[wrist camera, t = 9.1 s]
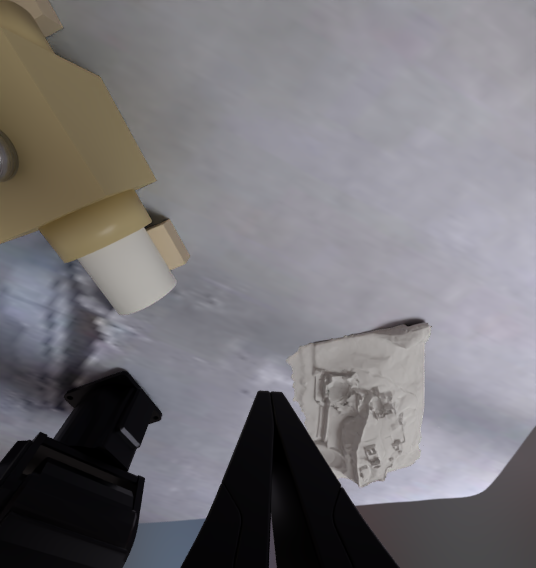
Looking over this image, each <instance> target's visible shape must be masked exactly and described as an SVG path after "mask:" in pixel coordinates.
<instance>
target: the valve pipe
mask: <svg viewBox="0 0 536 568" xmlns="http://www.w3.org/2000/svg"><path fill="white" fill-rule="evenodd" d="M62 28H63V26H62V24H61V22H60V21H59V19H58V17H57V15H56V13H55V11H54V10H53V8H52V6H51V4H50V2H49V1H48V0H0V130H1V131H3V132H4V133H5V134H6V135H7V136H8V138H9V139H10V140H11V142H12V143H13V145H14V147H15V149H16V151H17V154H18V158H19V168H18V171H17V173H16V175H15V176H14V177H13V178H12V179H10V180H8V181H6V182H0V244H2V243H5V242H7V241H10V240H13V239H16V238H18V237H21V236H24V235H27V234H29V233H32V232H35V231H38V230H39V231H40V232H41V233H42V235H43V236H44V237H45V238H46V240H47V241H48V242H49V244H50V245H51V246H52V247H53V249H54V250H55V251H56V252H57V254H58V255H59V256H60V258H61V259H62V260H63V261H64V263H67V262H70V261H73V260H76V259H78V261H79V262H80V263H81V265H82V266H83V267H84V269H85V270H86V271H87V273H88V274H89V275H90V277H91V278H92V279H93V281H94V282H95V283H96V285H97V286H98V287H99V289H100V290H101V291H102V293H103V294H104V295H105V297H106V298H107V299H108V301H109V302H110V303H111V305H112V306H113V307H114V309H115V310H116V311H117V313H118V314H119V315H128V314H132V313H135V312H137V311H140V310H142V309H144V308H146V307H148V306H150V305H152V304H153V303H155V302H157V301H158V300H160V299H161V298H162V297H164V296H165V295H166V294H168V293H169V292H170V291H171V290H172V289H173V288H174V287H175V285H176V283H177V281H176V279H175V278H174V276H173V274H172V273H171V271H170V270H172V269H174V268H177V267H179V266H182V265H184V264H186V262H187V261H188V259H189V257H190V255H189V253H188V251H187V250H186V248H185V246H184V244H183V242H182V241H181V239H180V237H179V235H178V233H177V232H176V230H175V228H174V226H173V224H172V223H171V221H170V219H168V220H166V221H163V222H161V223H159V224H156V225H154V226H152V227H149V228H147V229H145V228H144V227H145V226H147V225H148V224H150V223H151V222H152V220H151V218H150V216H149V214H148V213H147V211H146V209H145V208H144V206H143V204H142V202H141V201H140V199H139V197H138V196H137V194H136V192H135V190H137V189H140V188H142V187H144V186H146V185H149V184H151V183H153V182H155V181H156V179H155V177H154V175H153V173H152V171H151V169H150V168H149V166H148V164H147V162H146V160H145V158H144V157H143V155H142V153H141V151H140V149H139V147H138V145H137V144H136V142H135V140H134V138H133V136H132V134H131V133H130V131H129V129H128V127H127V125H126V123H125V121H124V120H123V118H122V116H121V114H120V112H119V110H118V109H117V107H116V105H115V103H114V101H113V99H112V97H111V96H110V94H109V92H108V90H107V88H106V86H105V85H104V83H103V81H102V79H101V77H99V76H97V75H95V74H93V73H91V72H89V71H87V70H85V69H83V68H81V67H79V66H77V65H75V64H73V63H71V62H69V61H67V60H65V59H63V58H61V57H60V56H58V55H56V54H54V52H53V50H52V48H51V47H50V45H49V43H48V42H47V40H46V37H48V36H50V35H51V34H53V33H55V32H57V31H59V30H61V29H62Z"/></svg>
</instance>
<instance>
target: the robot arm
mask: <svg viewBox="0 0 536 568" xmlns="http://www.w3.org/2000/svg"><path fill="white" fill-rule="evenodd" d="M64 398H65V400H66V401H67V402H68V403H69V404H70V405H71V406H72V407H73V408H74V410H73V411H72V413H71V414H70V415H69V417H68V418H67V420H66V421H65V423H64V424H63V425H62V427H61V428H60V430H59V431H58V433H57V434H56V436H55V437H54V438H53V439H52V438H49V437H47V434H44V433H42V432H40V433H39V434H38V435H37V436H36V437H35V438H34V439H33V440H32V441H31V440H27V441H17V442H16V444H15V445H14V446H13V447H12V448H11V449H10V451H9V452H8V453H7V454H6V456H5V457H4V458H3V459H2V461H1V462H0V568H123V566H124V564H125V562H126V560H127V557H128V556H129V553H130V551H131V548H132V546H133V543H134V540H135V537H136V533H137V528H138V521H139V515H140V508H141V502H142V495H143V488H144V482H145V478H144V477H142V476H136V475H134V474H131V473H129V472H127V471H128V469H129V467H130V464H131V462H132V459H133V457H134V454H135V451H136V449H137V448H139V447H140V445H141V443H142V440H143V437H144V435H145V432H146V429H147V427H148V424H151V423H154V422H157V421H159V420H161V417H162V413H161V412H160V410H159V409H158V408H157V407H156V406H155V404H154V403H153V402H152V401H151V400H150V398H149V397H148V396H147V395H146V393H145V392H144V391H143V390H142V389H141V387H140V386H139V385H138V384H137V383H136V381H135V380H134V379H133V378H132V377H131V375H130V374H129V373H128V372H125V371H122V372H119V373H116V374H113V375H111V376H108V377H105V378H103V379H100V380H97V381H94V382H92V383H89V384H86V385H83V386H81V387H78V388H75V389H72V390H70V391H68V392H67V393H66V394H65V396H64ZM271 517H272V525H273V536H274V545H275V555H276V565H277V568H400V567H399V566H398V564H397V563H396V562H395V560H394V559H393V558H392V557H391V555H390V554H389V553H388V551H387V550H386V549H385V547H384V546H383V545H382V543H381V542H380V541H379V539H378V538H377V537H376V535H375V534H374V533H373V531H372V530H371V529H370V527H369V526H368V524H367V523H366V522H365V520H364V519H363V517H362V516H361V514H360V513H359V511H358V510H357V508H356V507H355V505H354V504H353V502H352V501H351V499H350V498H349V496H348V495H347V493H346V491H345V490H344V488H343V487H341V484H340V482H339V481H338V479H337V477H336V476H335V474H334V473H333V471H332V470H331V468H330V466H329V465H328V463H327V462H326V460H325V459H324V457H323V455H322V454H321V452H320V451H319V449H318V448H317V446H316V444H315V443H314V441H313V440H312V438H311V437H310V435H309V433H308V432H307V430H306V429H305V427H304V425H303V424H302V422H301V421H300V419H299V418H298V416H297V414H296V413H295V411H294V410H293V408H292V407H291V405H290V403H289V402H288V400H287V399H286V397H285V396H284V394H283V393H282V392H274V391H272V392H269V391H258V392H257V395H256V397H255V400H254V402H253V405H252V407H251V410H250V412H249V415H248V417H247V420H246V422H245V425H244V427H243V430H242V432H241V435H240V437H239V440H238V442H237V445H236V447H235V450H234V452H233V455H232V457H231V460H230V462H229V465H228V467H227V470H226V472H225V475H224V477H223V480H222V484H221V485H220V487H219V490H218V492H217V495H216V497H215V499H214V502H213V504H212V506H211V509H210V511H209V513H208V516H207V518H206V520H205V522H204V524H203V526H202V528H201V530H200V532H199V534H198V536H197V538H196V540H195V542H194V543H193V546H192V547H191V549H190V551H189V553H188V555H187V556H186V558H185V560H184V562H183V564H182V566H181V568H269V547H270V521H271Z"/></svg>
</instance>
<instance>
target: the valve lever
mask: <svg viewBox="0 0 536 568" xmlns="http://www.w3.org/2000/svg"><path fill="white" fill-rule="evenodd" d="M18 168H19V158H18V154H17V151H16V149H15V147H14V145H13V143H12V142H11V140H10V139H9V138H8V136H7V135H6V134H5V133H4V132H3V131H1V130H0V182H6V181H8V180H10V179H12V178H13V177H14V176H15V175H16V173H17V171H18Z"/></svg>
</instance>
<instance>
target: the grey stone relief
mask: <svg viewBox="0 0 536 568" xmlns="http://www.w3.org/2000/svg"><path fill="white" fill-rule="evenodd" d="M431 327H432V326H431ZM431 327H430V326H429V325H428V323H425V322H424V323H419V324H415V325H412V326H409V327H408V326H406V325H405V324H403V325H398V326H395V327H392V328H387V329H379V330H374V331H370V332H365V333H360V334H356V335H353V334H352V335H351V336H346V335H345V336H344V337H343V338H337V339H333V338H331V340H328V341H322V342H317V343H309V344H308V345H304V346H300V347H299V349H298V352H296V353H295V354H294V355H293V356H290V357H289V358H288V359H287V360H286V362H287V363H288V364H289V365H291V366H292V368H293V370H292V371H293V374H292V376H291V378H292V379H293V381H294V384H293V388H294V389H295V390H294V391H295V394H294V398H293V401H297V402H298V403H299V406H300V407H301V408H302V410H301V411H302V412H303V413H304V415H305V417H306V420H305V422H304V424H305V426H306V428H307V430H308V433H309V435H310V437H311V438H312V440H313V441H314V443H315V444H316V446H317V448H318V449H319V451H320V452H321V454H322V455H323V457H324V459H325V460H326V462H327V463H328V465H329V466H330V468H331V470H332V471H333V473H334V474H335V476H336V477H337V479H339V478H349V479H350V480H352V481H354V482H355V483H357V484H358V486H359V488H362V487H364V486H367V485H368V484H370V483H372V482H375V481H385V478H386V474H387V473H388V472H392V471H394V470H397V469H400V468H405V467H408V466H411V465H412V464H414V463H415V460H417V459H419V457H420V453H421V450H420V449H419V443H420V441H421V431H420V427H421V424H422V419H423V411H424V392H425V386H424V381H425V377H424V374H425V370H424V361H425V344H426V342H427V341H428V338H429V337H430V334H431V333H430V331H431ZM328 390H329V391H328ZM423 446H424V445H423Z"/></svg>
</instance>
